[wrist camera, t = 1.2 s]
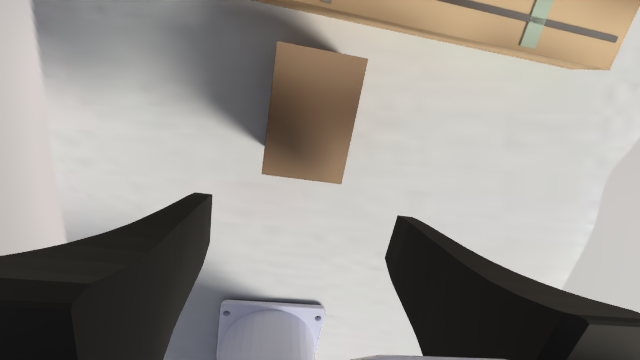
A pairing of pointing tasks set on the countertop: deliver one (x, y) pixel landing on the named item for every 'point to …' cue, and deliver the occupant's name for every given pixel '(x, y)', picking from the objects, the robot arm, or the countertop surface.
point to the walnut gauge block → (311, 112)
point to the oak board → (498, 25)
